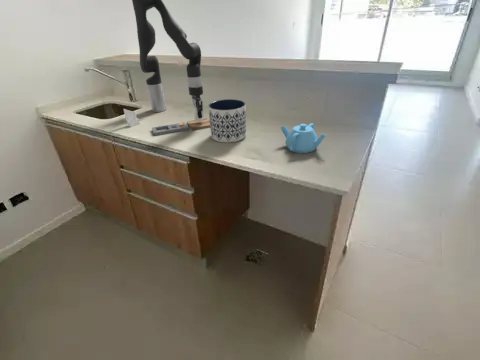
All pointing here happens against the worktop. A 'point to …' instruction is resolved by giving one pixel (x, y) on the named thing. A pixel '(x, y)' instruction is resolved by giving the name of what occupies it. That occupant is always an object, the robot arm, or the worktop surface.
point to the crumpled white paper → (131, 118)
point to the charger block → (197, 115)
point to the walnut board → (199, 124)
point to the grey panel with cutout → (170, 128)
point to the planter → (227, 120)
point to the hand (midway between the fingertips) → (198, 116)
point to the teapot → (302, 138)
